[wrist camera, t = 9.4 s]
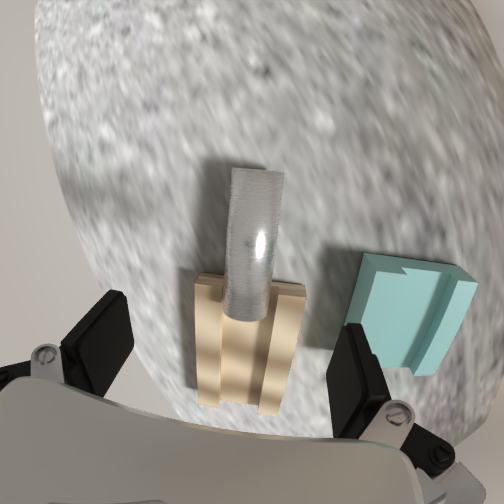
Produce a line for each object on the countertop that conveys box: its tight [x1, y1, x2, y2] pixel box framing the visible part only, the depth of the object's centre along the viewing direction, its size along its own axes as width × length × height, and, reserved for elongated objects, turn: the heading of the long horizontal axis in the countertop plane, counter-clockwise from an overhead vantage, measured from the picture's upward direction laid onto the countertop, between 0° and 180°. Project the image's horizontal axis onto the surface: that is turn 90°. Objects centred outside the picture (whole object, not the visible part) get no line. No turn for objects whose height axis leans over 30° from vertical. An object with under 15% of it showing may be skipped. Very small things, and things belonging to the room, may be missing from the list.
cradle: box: [344, 253, 478, 376], centre depth 25 cm, size 12×12×4 cm
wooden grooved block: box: [195, 272, 307, 416], centre depth 29 cm, size 18×10×2 cm, turn 175°
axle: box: [222, 168, 284, 322], centre depth 23 cm, size 12×4×4 cm, turn 175°
